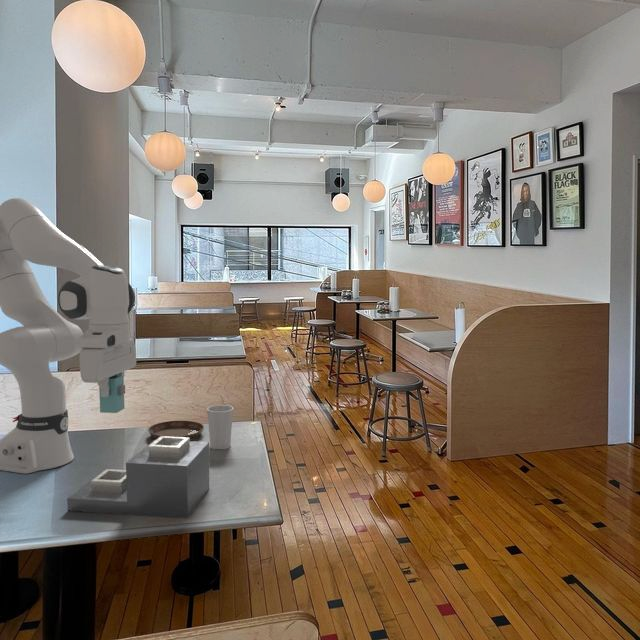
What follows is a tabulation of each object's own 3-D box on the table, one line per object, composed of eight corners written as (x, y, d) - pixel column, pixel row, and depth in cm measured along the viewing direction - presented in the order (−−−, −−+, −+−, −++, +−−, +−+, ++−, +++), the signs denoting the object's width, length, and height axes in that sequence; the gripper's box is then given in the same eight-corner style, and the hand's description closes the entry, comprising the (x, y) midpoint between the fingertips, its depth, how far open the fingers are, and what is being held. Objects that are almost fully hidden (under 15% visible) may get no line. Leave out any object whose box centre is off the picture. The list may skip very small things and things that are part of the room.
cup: (238, 445, 166) (238, 407, 165) (221, 452, 159) (220, 413, 158) (219, 440, 170) (219, 403, 169) (201, 447, 163) (201, 409, 162)
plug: (100, 412, 123) (98, 370, 122) (108, 407, 127) (107, 367, 126) (119, 413, 123) (118, 370, 122) (127, 408, 127) (126, 367, 126)
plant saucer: (202, 426, 185) (202, 418, 185) (205, 443, 168) (205, 433, 168) (149, 430, 180) (149, 421, 180) (147, 447, 163) (147, 437, 163)
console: (67, 511, 120) (65, 449, 119) (102, 482, 136) (101, 427, 134) (187, 518, 118) (187, 454, 116) (209, 488, 133) (208, 432, 132)
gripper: (118, 330, 134) (119, 383, 135) (73, 341, 114) (75, 404, 115) (142, 330, 133) (143, 384, 135) (101, 341, 113) (103, 404, 115)
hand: (111, 393), depth 125 cm, fingers closed on plug, 4 cm apart
